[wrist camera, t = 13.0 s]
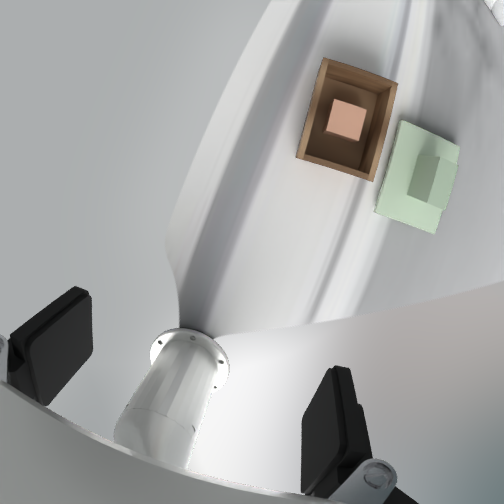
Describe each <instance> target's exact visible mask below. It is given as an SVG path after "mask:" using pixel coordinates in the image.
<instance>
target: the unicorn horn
mask: <svg viewBox="0 0 504 504" xmlns="http://www.w3.org/2000/svg"><path fill="white" fill-rule="evenodd" d="M484 2H485V3H486V5H487V6H488V8H489V9H490V10H491V11H492V14H493V15H494V17H495V18H496V20H497V21H498V23H499V24H500V25H501V26H504V0H484Z"/></svg>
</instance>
